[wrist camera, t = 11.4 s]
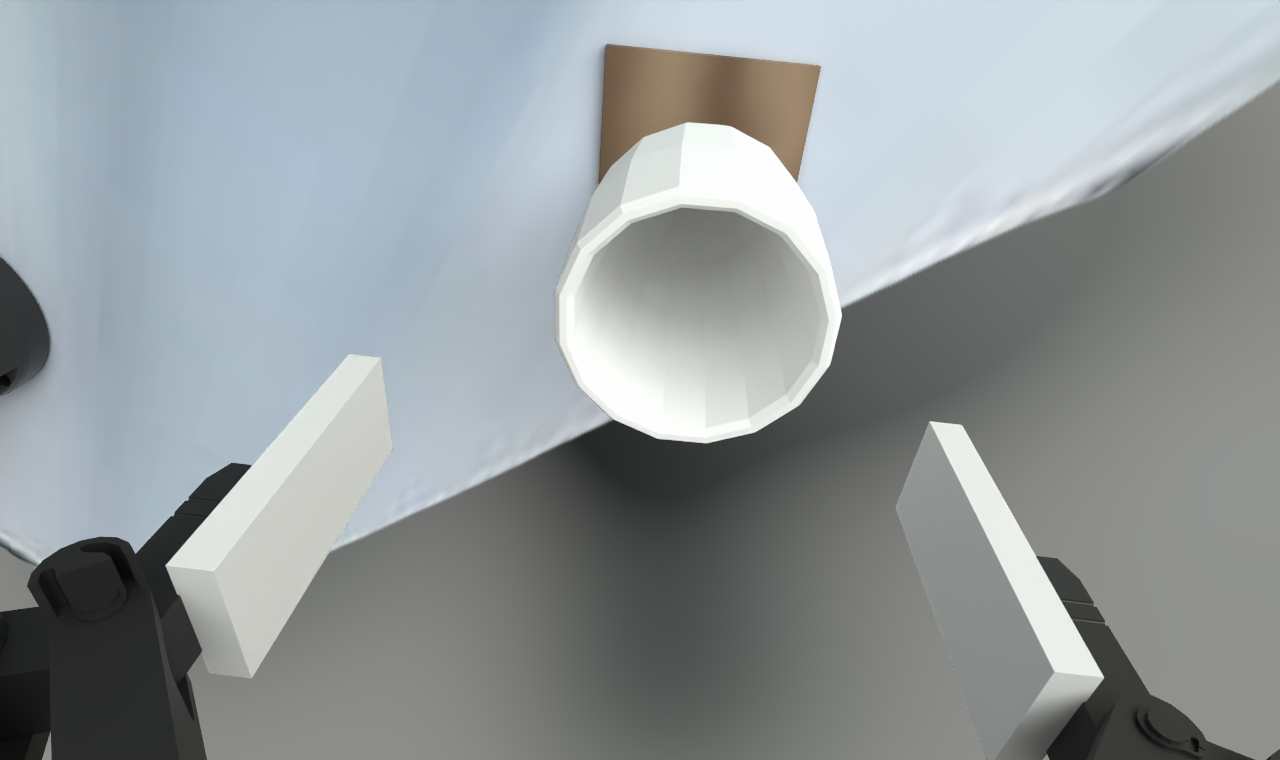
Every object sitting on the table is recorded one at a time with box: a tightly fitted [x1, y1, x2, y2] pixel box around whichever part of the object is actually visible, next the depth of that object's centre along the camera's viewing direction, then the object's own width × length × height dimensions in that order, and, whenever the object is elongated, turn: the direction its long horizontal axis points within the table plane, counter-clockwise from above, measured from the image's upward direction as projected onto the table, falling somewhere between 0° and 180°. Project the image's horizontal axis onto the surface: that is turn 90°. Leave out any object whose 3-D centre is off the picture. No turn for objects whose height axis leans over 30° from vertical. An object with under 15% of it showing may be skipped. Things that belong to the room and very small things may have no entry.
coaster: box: [599, 44, 821, 184], centre depth 41 cm, size 12×12×1 cm
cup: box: [555, 122, 842, 443], centre depth 32 cm, size 10×10×22 cm
